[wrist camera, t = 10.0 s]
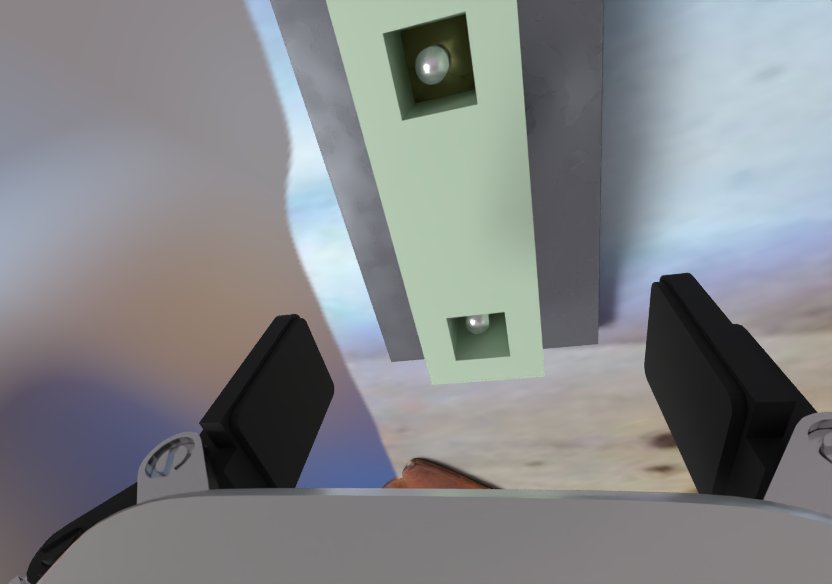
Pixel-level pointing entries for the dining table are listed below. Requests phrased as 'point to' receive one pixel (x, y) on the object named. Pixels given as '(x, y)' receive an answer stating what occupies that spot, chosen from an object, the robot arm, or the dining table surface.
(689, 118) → the dining table surface
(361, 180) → the base plate
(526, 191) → the slotted bar
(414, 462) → the wooden tablet
